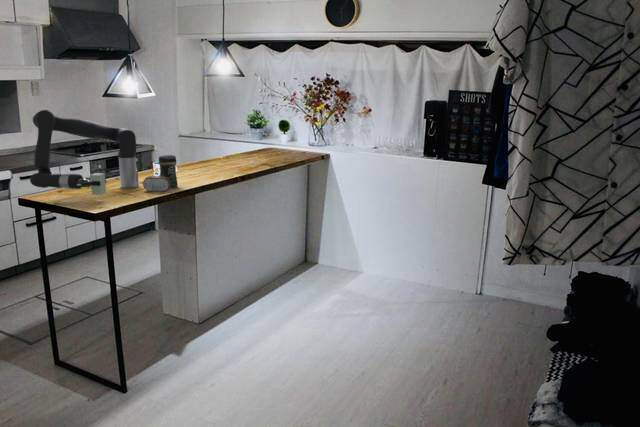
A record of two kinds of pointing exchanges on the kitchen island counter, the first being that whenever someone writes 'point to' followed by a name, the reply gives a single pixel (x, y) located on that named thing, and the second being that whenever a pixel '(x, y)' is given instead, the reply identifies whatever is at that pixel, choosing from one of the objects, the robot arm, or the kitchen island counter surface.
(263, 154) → the kitchen island counter surface
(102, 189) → the sage block
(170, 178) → the coffee jar
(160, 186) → the tin
